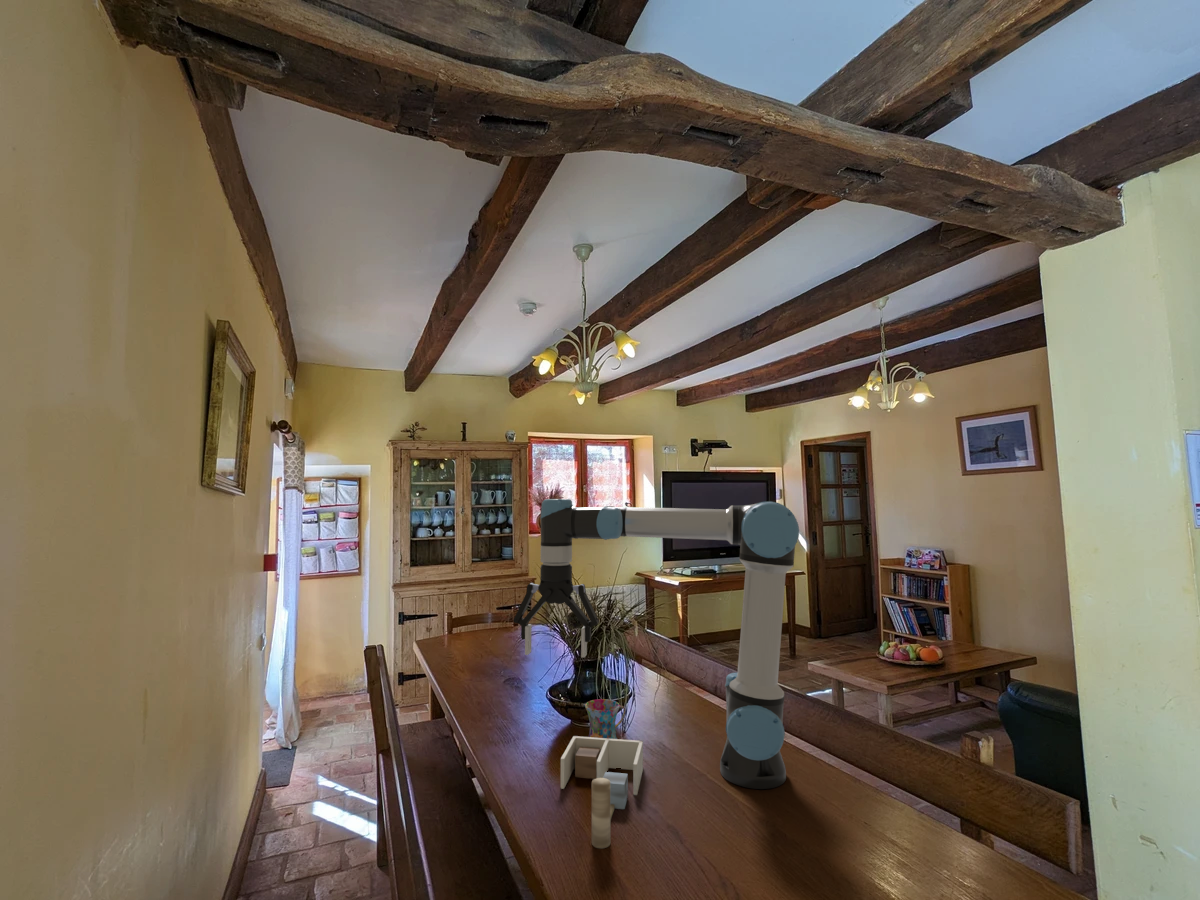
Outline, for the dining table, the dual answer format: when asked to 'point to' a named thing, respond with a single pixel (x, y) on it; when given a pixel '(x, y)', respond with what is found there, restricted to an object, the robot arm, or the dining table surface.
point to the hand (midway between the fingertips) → (555, 654)
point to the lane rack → (606, 757)
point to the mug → (603, 718)
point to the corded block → (607, 805)
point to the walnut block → (586, 762)
